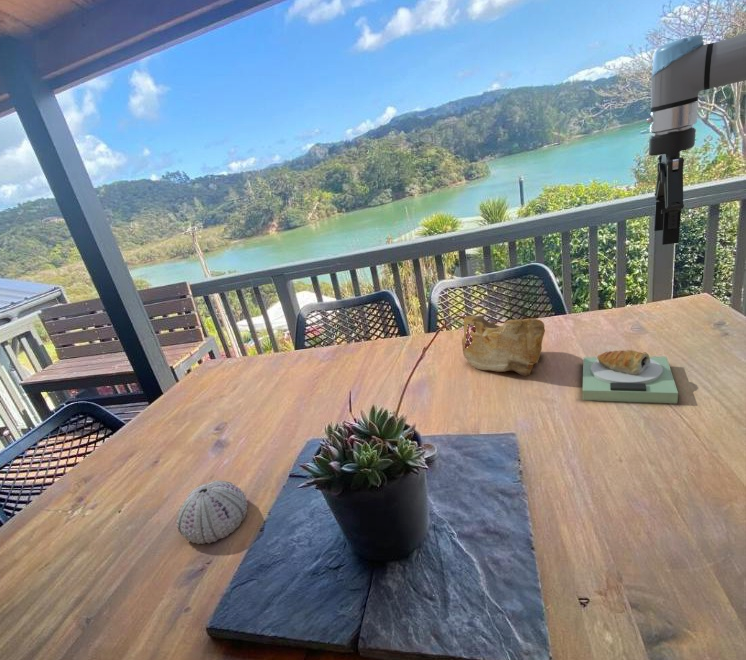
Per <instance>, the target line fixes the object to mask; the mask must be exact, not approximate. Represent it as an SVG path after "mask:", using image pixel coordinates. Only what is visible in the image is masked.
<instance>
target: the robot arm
mask: <svg viewBox="0 0 746 660" xmlns="http://www.w3.org/2000/svg"><path fill="white" fill-rule="evenodd" d="M650 77H651V81H650V83H651V84H650V116H651V117H648V118H647V119H646V124H649V133H650V134H653V135H652V136H650V137H649V139H648V140H649V141H648V155H649V156H658V157H657V160H658V162H657V166H656V170H657V173H656V183H655V192H654V197H655V207H654V208H655V211H654V227H653V228H654V230H653V231H654V232H658V231H662V239H661V245H662V246H664V245H674V244H679V243H680V232H681V218H682V217H681V216H682V210H683V209H684V207H685V204H684V166H685V165H684V164H685V163H684V162H685V158H684V157H681V154H680V153H681V152H682V151H687V150H690V149H693V147H694V146H695V144H696V131H697V128H696V127H693V126H694V125H696V124H697V123H698V110H699V94H700V92H702V91H708V90H710V89H714V88H718V87H722V86H723V87H724V86H728V85H731V84H736V83H740V82H744V81H746V32H744V33H741V34H738V35H734V36H731V37H727V38H724V39H723V40H719V41H716V42H710V43H704V37H703V35H701V34H697V35H696V34H695V35H692V36H688V37H685V38H680V39H676V40H674V41H672V42H668V43H665V44H663V45H661V46H659V47H658V48H657V49H656V51H654V54H653V61H652V71H651V75H650Z"/></svg>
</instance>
